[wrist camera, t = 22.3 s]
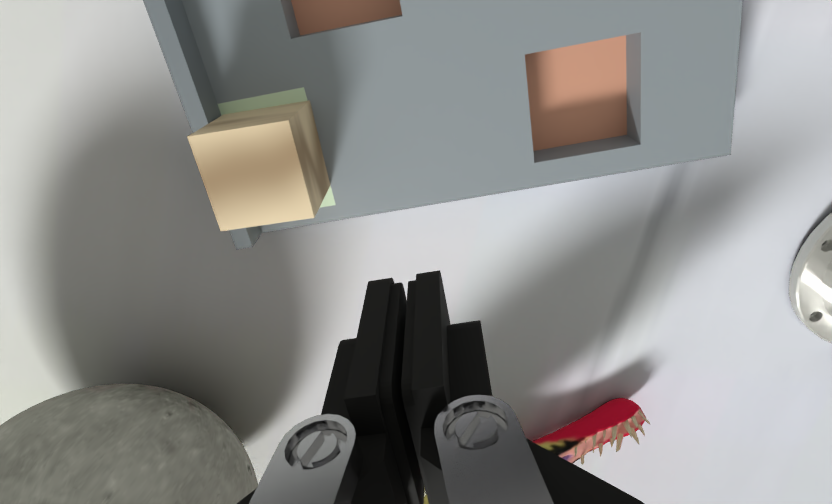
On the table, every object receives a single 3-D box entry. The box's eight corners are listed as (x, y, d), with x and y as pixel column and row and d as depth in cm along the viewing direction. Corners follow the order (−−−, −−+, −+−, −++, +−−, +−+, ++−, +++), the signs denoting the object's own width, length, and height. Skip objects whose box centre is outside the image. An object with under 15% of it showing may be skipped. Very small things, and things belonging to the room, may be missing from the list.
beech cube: (330, 185, 31) (314, 217, 27) (249, 197, 32) (220, 231, 27) (309, 100, 29) (288, 120, 25) (223, 114, 30) (187, 136, 25)
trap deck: (709, 143, 32) (749, 165, 28) (258, 219, 35) (236, 249, 31) (732, -234, 25) (791, -277, 20) (149, -96, 27) (101, -111, 23)
